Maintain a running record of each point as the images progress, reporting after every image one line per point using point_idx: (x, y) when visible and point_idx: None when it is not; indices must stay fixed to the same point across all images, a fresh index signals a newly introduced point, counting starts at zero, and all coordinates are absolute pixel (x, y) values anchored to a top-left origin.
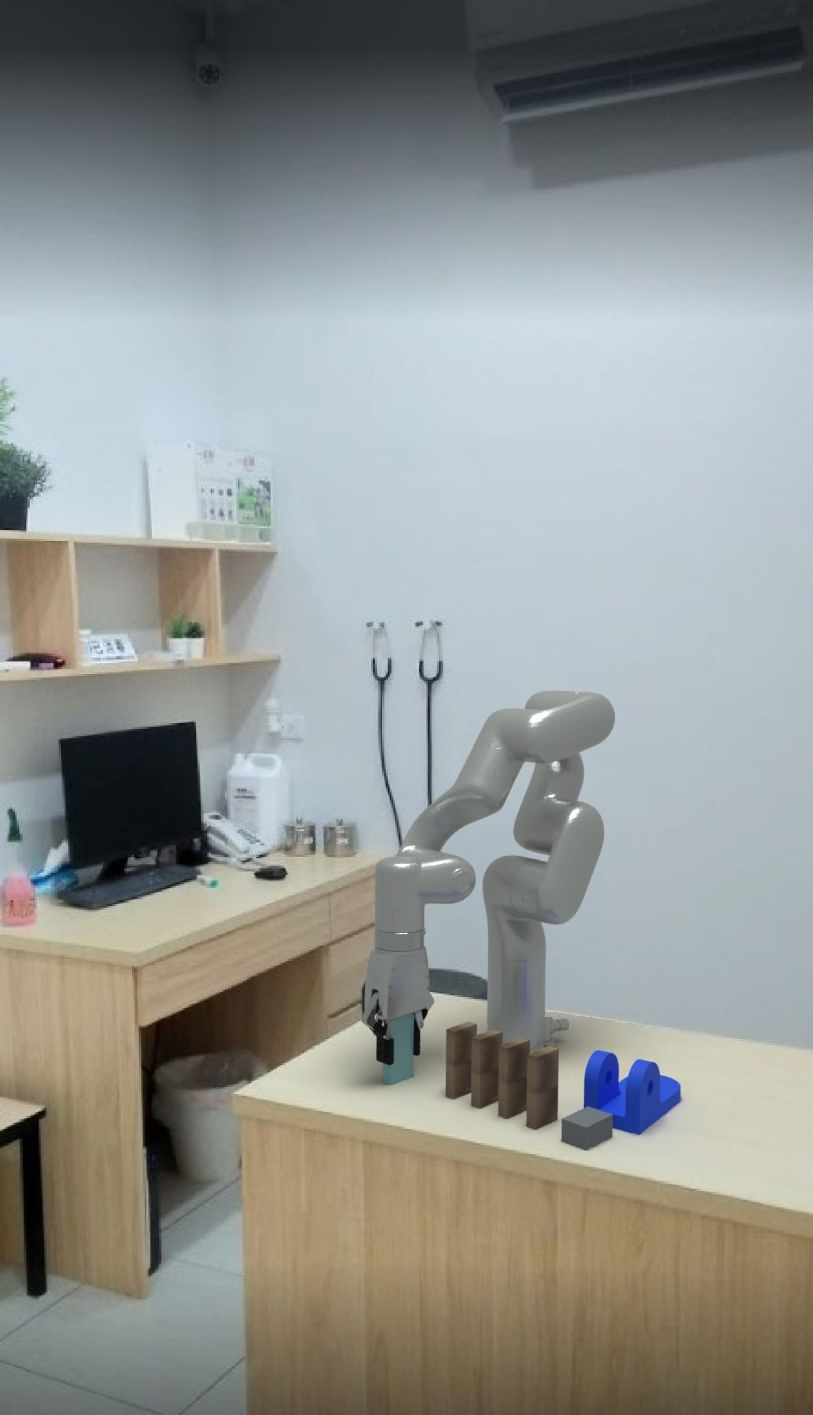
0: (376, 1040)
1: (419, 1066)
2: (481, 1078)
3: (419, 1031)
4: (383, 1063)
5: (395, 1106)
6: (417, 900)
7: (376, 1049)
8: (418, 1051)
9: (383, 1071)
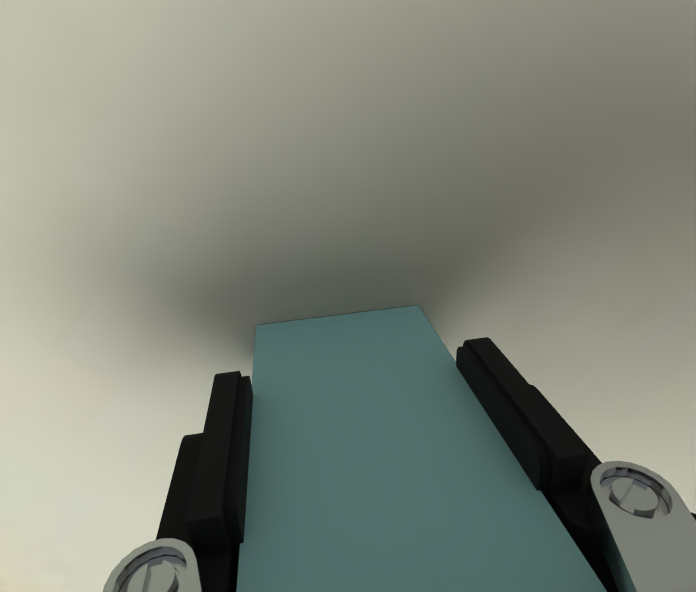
0: (194, 476)
1: (535, 269)
2: None
3: None
4: (252, 386)
5: (142, 534)
6: None
7: (207, 418)
8: None
9: (255, 358)
